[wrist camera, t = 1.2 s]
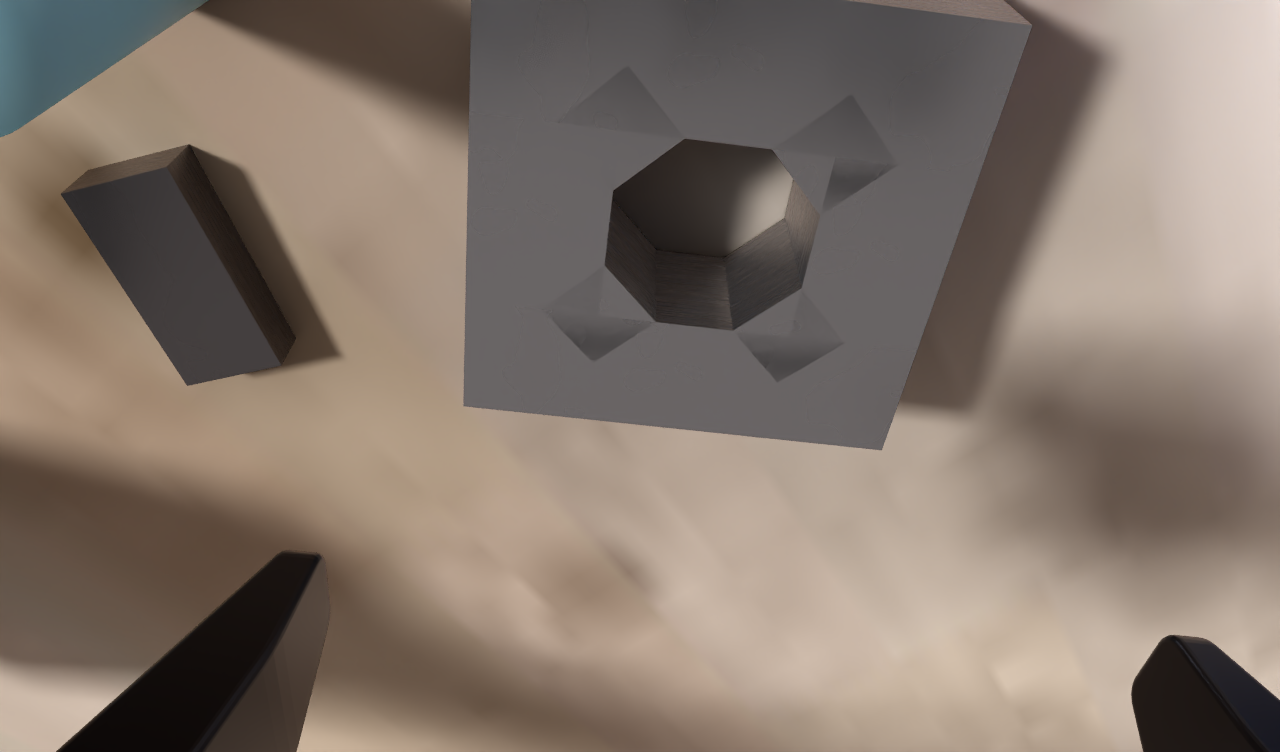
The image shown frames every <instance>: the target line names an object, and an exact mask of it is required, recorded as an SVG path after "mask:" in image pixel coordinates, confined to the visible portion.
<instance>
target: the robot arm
mask: <svg viewBox="0 0 1280 752" xmlns="http://www.w3.org/2000/svg"><path fill="white" fill-rule="evenodd" d="M329 618H330V599H329V589H328V580H327V571H326V563H325V560H324V558H323V556H322V555H321V554H318V553H314V552H303V551H293V550H286V551H283V552H281V553H279V554H277V555H276V556H275V557H274V558H273V559H272V560H270V561H269V562H268V563H267V564H266V565H265V566H264V567H263V568H261V569H260V570H259V571H258V572H257V573H256V574H255V575H254V576H252V577H251V578H250V579H249V580H248V581H247V582H246V583H245V584H244V585H242V586H241V587H240V588H239V589H238V590H237V591H236V592H235V593H233V594H232V595H231V596H230V597H229V598H228V599H227V600H226V601H224V602H223V603H222V604H221V605H220V606H219V607H218V608H217V609H215V610H214V611H213V612H212V613H211V614H210V615H209V616H208V617H206V618H205V619H204V620H203V621H202V622H201V623H200V624H199V625H198V626H196V627H195V628H194V629H193V630H192V631H191V632H190V633H189V634H187V635H186V636H185V637H184V638H183V639H182V640H181V641H180V642H178V643H177V644H176V645H175V646H174V647H173V648H172V649H171V650H169V651H168V652H167V653H166V654H165V655H164V656H163V657H162V658H160V659H159V660H158V661H157V662H156V663H155V664H154V665H153V666H151V667H150V668H149V669H148V670H147V671H146V672H145V673H144V674H143V675H141V676H140V677H139V678H138V679H137V680H136V681H135V682H134V683H132V684H131V685H130V686H129V687H128V688H127V689H126V690H125V691H123V692H122V693H121V694H120V695H119V696H118V697H117V698H116V699H114V700H113V701H112V702H111V703H110V704H109V705H108V706H107V707H105V708H104V709H103V710H102V711H101V712H100V713H99V714H98V715H97V716H95V717H94V718H93V719H92V720H91V721H90V722H89V723H88V724H86V725H85V726H84V727H83V728H82V729H81V730H80V731H79V732H77V733H76V734H75V735H74V736H73V737H72V738H71V739H70V740H68V741H67V742H66V743H65V744H64V745H63V746H62V747H61V748H59V749H58V750H57V751H56V752H296V751H297V748H298V744H299V740H300V736H301V732H302V728H303V724H304V721H305V717H306V713H307V709H308V705H309V701H310V697H311V693H312V689H313V685H314V681H315V677H316V673H317V669H318V665H319V661H320V657H321V653H322V649H323V645H324V641H325V637H326V633H327V629H328V625H329ZM1131 696H1132V705H1133V710H1134V714H1135V718H1136V723H1137V727H1138V731H1139V736H1140V740H1141V744H1142V749H1143V752H1280V700H1279V699H1278V698H1277V697H1276V696H1274V695H1273V694H1272V693H1271V692H1270V691H1269V690H1267V689H1266V688H1265V687H1264V686H1263V685H1262V684H1260V683H1259V682H1258V681H1257V680H1256V679H1255V678H1253V677H1252V676H1251V675H1250V674H1249V673H1248V672H1246V671H1245V670H1244V669H1243V668H1242V667H1241V666H1239V665H1238V664H1237V663H1236V662H1235V661H1234V660H1232V659H1231V658H1230V657H1229V656H1228V655H1226V654H1225V653H1224V652H1223V651H1222V650H1221V649H1219V648H1218V647H1217V646H1216V645H1215V644H1213V643H1212V642H1210V641H1209V640H1207V639H1204V638H1199V637H1190V636H1180V635H1169V636H1167V637H1165V638H1163V639H1162V640H1161V641H1160V642H1159V643H1158V645H1157V646H1156V648H1155V649H1154V651H1153V652H1152V654H1151V655H1150V657H1149V658H1148V660H1147V661H1146V663H1145V664H1144V666H1143V667H1142V669H1141V670H1140V671H1139V673H1138V674H1137V676H1136V678H1135V679H1134V682H1133V685H1132V692H1131Z"/></svg>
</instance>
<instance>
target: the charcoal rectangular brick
mask: <svg viewBox="0 0 1280 752" xmlns="http://www.w3.org/2000/svg"><path fill="white" fill-rule="evenodd" d="M61 195H62V197H63V198H64V200H65V201H66V203H67V204H68V206H69V207H70V209H71V210H72V212H73V213H74V215H75V216H76V218H77V219H78V221H79V222H80V224H81V225H82V227H83V228H84V230H85V231H86V233H87V234H88V236H89V238H90V239H91V241H92V242H93V244H94V245H95V247H96V248H97V250H98V251H99V253H100V254H101V256H102V257H103V259H104V260H105V262H106V263H107V265H108V266H109V268H110V269H111V271H112V272H113V274H114V275H115V277H116V278H117V280H118V281H119V283H120V284H121V286H122V288H123V289H124V291H125V292H126V294H127V295H128V297H129V298H130V300H131V301H132V303H133V304H134V306H135V307H136V309H137V310H138V312H139V313H140V315H141V316H142V318H143V319H144V321H145V322H146V324H147V325H148V327H149V328H150V330H151V331H152V333H153V335H154V336H155V338H156V339H157V341H158V342H159V344H160V345H161V347H162V348H163V350H164V351H165V353H166V354H167V356H168V357H169V359H170V360H171V362H172V363H173V365H174V366H175V368H176V369H177V371H178V372H179V374H180V375H181V377H182V378H183V380H184V381H185V383H186V385H187V386H188V385H193V384H198V383H202V382H207V381H212V380H216V379H221V378H226V377H230V376H235V375H240V374H244V373H249V372H254V371H258V370H263V369H268V368H272V367H277V366H281V365H282V363H283V362H284V360H285V358H286V356H287V354H288V352H289V350H290V349H291V347H292V345H293V343H294V341H295V339H296V337H295V336H294V334H293V332H292V330H291V328H290V327H289V325H288V323H287V321H286V319H285V317H284V316H283V314H282V312H281V310H280V308H279V307H278V305H277V303H276V301H275V299H274V297H273V296H272V294H271V292H270V290H269V288H268V287H267V285H266V283H265V281H264V279H263V278H262V276H261V274H260V272H259V270H258V268H257V267H256V265H255V263H254V261H253V259H252V258H251V256H250V254H249V252H248V250H247V248H246V247H245V245H244V243H243V241H242V239H241V238H240V236H239V234H238V232H237V230H236V229H235V227H234V225H233V223H232V221H231V219H230V218H229V216H228V214H227V212H226V210H225V209H224V207H223V205H222V203H221V201H220V199H219V198H218V196H217V194H216V192H215V190H214V189H213V187H212V185H211V183H210V181H209V180H208V178H207V176H206V174H205V172H204V170H203V169H202V167H201V165H200V163H199V161H198V160H197V158H196V156H195V154H194V152H193V150H192V149H191V147H190V145H185V146H181V147H177V148H173V149H169V150H165V151H161V152H157V153H153V154H149V155H145V156H142V157H138V158H134V159H130V160H126V161H122V162H118V163H114V164H110V165H106V166H102V167H98V168H94V169H91V170H88V171H87V172H85V173H84V174H83V175H82V176H81V177H80V178H78V179H77V180H76V181H75V182H74V183H73V184H71V185H70V186H69V187H68V188H67V189H66V190H65V191H63V192H62V193H61Z"/></svg>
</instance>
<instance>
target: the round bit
mask: <svg viewBox="0 0 1280 752" xmlns="http://www.w3.org/2000/svg"><path fill="white" fill-rule="evenodd" d="M207 1H209V0H0V137H2V136H5V135H8V134H10V133H12V132H14V131H16V130H17V129H19V128H21V127H22V126H24V125H25V124H26V123H28V122H29V121H31V120H32V119H34V118H35V117H37V116H38V115H40V114H41V113H43V112H44V111H46V110H47V109H49V108H50V107H52V106H53V105H55V104H56V103H58V102H59V101H61V100H62V99H63V98H65V97H66V96H68V95H69V94H71V93H72V92H74V91H75V90H77V89H78V88H80V87H81V86H83V85H84V84H86V83H87V82H89V81H90V80H92V79H93V78H95V77H96V76H98V75H99V74H100V73H102V72H103V71H105V70H106V69H108V68H109V67H111V66H112V65H114V64H115V63H117V62H118V61H120V60H121V59H123V58H124V57H126V56H127V55H129V54H130V53H132V52H133V51H135V50H136V49H137V48H139V47H140V46H142V45H143V44H145V43H146V42H148V41H149V40H151V39H152V38H154V37H155V36H157V35H158V34H160V33H161V32H163V31H164V30H166V29H167V28H169V27H170V26H172V25H173V24H174V23H176V22H177V21H179V20H180V19H182V18H183V17H185V16H186V15H188V14H189V13H191V12H192V11H194V10H195V9H197V8H198V7H200V6H201V5H203V4H204V3H206V2H207Z"/></svg>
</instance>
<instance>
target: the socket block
mask: <svg viewBox="0 0 1280 752" xmlns="http://www.w3.org/2000/svg"><path fill="white" fill-rule="evenodd" d="M1031 28H1032V24H1030V23H1029V22H1028V21H1027V20H1026V19H1025V18H1024V17H1022V16H1021V15H1020V14H1019V13H1018V12H1017V11H1016V10H1014V9H1013V8H1012V7H1011V6H1010V5H1009V4H1008V3H1006V2H1005V1H1004V0H471V45H470V97H469V148H468V200H467V252H466V303H465V355H464V406H467V407H476V408H486V409H495V410H505V411H514V412H524V413H533V414H543V415H552V416H562V417H571V418H581V419H590V420H600V421H609V422H619V423H628V424H638V425H647V426H657V427H666V428H676V429H685V430H695V431H704V432H714V433H723V434H733V435H742V436H752V437H761V438H770V439H780V440H789V441H799V442H808V443H818V444H827V445H837V446H846V447H856V448H865V449H875V450H882V448H883V445H884V442H885V440H886V437H887V434H888V431H889V428H890V425H891V423H892V420H893V417H894V414H895V411H896V409H897V406H898V403H899V400H900V397H901V394H902V392H903V389H904V386H905V383H906V380H907V378H908V375H909V372H910V369H911V366H912V363H913V361H914V358H915V355H916V352H917V349H918V347H919V344H920V341H921V338H922V335H923V332H924V330H925V327H926V324H927V321H928V318H929V316H930V313H931V310H932V307H933V304H934V301H935V299H936V296H937V293H938V290H939V287H940V285H941V282H942V279H943V276H944V273H945V270H946V268H947V265H948V262H949V259H950V256H951V254H952V251H953V248H954V245H955V242H956V239H957V237H958V234H959V231H960V228H961V225H962V223H963V220H964V217H965V214H966V211H967V208H968V206H969V203H970V200H971V197H972V194H973V192H974V189H975V186H976V183H977V180H978V177H979V175H980V172H981V169H982V166H983V163H984V161H985V158H986V155H987V152H988V149H989V146H990V144H991V141H992V138H993V135H994V132H995V130H996V127H997V124H998V121H999V118H1000V115H1001V113H1002V110H1003V107H1004V104H1005V101H1006V99H1007V96H1008V93H1009V90H1010V87H1011V84H1012V82H1013V79H1014V76H1015V73H1016V70H1017V68H1018V65H1019V62H1020V59H1021V56H1022V53H1023V51H1024V48H1025V45H1026V42H1027V39H1028V37H1029V34H1030V31H1031ZM683 139H692V140H700V141H708V142H717V143H725V144H733V145H741V146H749V147H757V148H765V149H772V150H773V152H774V153H775V154H776V156H777V157H778V158H779V160H780V161H781V162H782V164H783V165H784V167H785V168H786V169H787V171H788V172H789V173H790V175H791V176H792V178H793V179H794V180H793V184H792V188H791V192H790V197H789V201H788V205H787V209H786V214H785V218H784V219H782V220H781V221H779V222H778V223H776V224H775V225H773V226H772V227H770V228H769V229H767V230H766V231H764V232H763V233H761V234H760V235H758V236H756V237H755V238H753V239H752V240H750V241H749V242H747V243H746V244H744V245H743V246H741V247H740V248H738V249H737V250H735V251H734V252H732V253H731V254H729V255H728V256H726V257H725V258H721V257H713V256H704V255H696V254H687V253H678V252H670V251H661V250H656V249H655V248H654V247H653V246H652V245H651V244H650V243H649V241H648V240H647V239H646V238H645V237H644V236H643V234H642V233H641V232H640V231H639V230H638V229H637V227H636V226H635V225H634V224H633V223H632V222H631V220H630V219H629V218H628V217H627V216H626V215H625V213H624V212H623V211H622V210H621V209H620V208H619V206H618V205H617V204H616V203H615V202H614V201H613V199H612V196H613V190H615V189H616V188H617V187H619V186H620V185H622V184H623V183H624V182H626V181H627V180H628V179H630V178H631V177H633V176H634V175H635V174H637V173H638V172H639V171H641V170H642V169H644V168H645V167H646V166H648V165H649V164H650V163H652V162H653V161H655V160H656V159H657V158H659V157H660V156H661V155H663V154H664V153H666V152H667V151H668V150H670V149H671V148H672V147H674V146H675V145H677V144H678V143H679V142H681V141H682V140H683Z"/></svg>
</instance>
